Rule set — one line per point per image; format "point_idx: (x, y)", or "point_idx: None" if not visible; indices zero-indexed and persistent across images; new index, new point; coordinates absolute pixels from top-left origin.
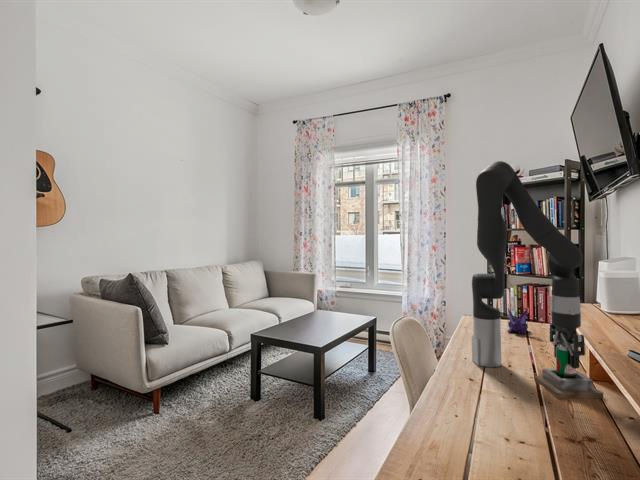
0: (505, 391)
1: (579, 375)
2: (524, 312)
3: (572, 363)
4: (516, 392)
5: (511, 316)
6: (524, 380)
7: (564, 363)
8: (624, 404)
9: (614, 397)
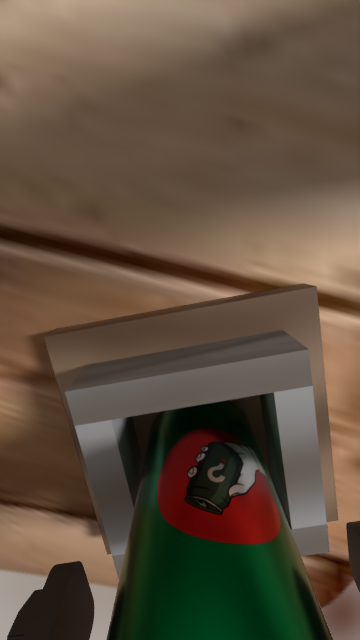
0: (79, 34)
1: None
2: None
3: (36, 618)
4: (81, 113)
5: None
6: (298, 221)
7: (131, 543)
8: None
9: None
